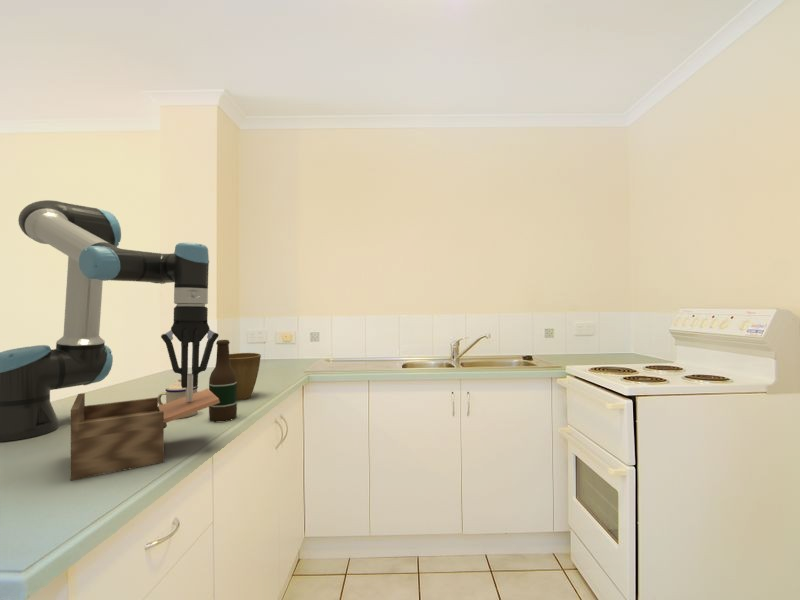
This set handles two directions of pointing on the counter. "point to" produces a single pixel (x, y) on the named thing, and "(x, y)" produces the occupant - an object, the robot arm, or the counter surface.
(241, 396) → the plant pot
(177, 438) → the counter surface
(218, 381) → the beer bottle
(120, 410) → the tray
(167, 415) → the orange rectangular slab
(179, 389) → the teacup with lid
